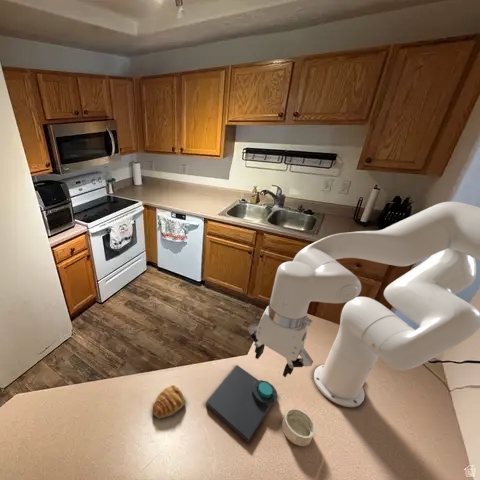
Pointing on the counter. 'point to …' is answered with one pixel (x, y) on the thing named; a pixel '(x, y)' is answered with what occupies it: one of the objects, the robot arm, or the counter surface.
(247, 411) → the dark grey flat block
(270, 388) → the button
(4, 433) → the counter surface
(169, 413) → the pastry
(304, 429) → the bowl
